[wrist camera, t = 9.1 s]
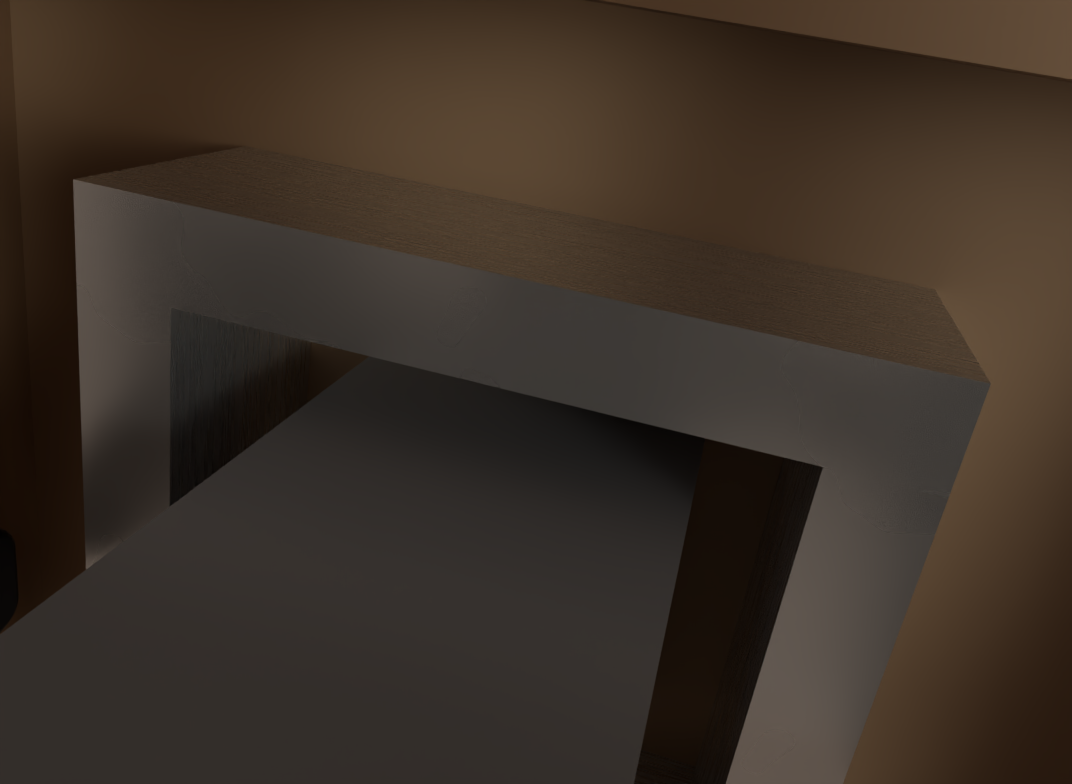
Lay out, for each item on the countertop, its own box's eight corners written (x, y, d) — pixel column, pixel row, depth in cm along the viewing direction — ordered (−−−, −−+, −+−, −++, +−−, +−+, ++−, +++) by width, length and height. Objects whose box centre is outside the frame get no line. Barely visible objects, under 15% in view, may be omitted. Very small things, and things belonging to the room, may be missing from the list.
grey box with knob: (709, 417, 11) (485, 1509, 3) (641, 688, 13) (362, 1907, 4) (390, 340, 12) (-543, 1043, 3) (361, 606, 13) (-331, 1526, 5)
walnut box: (1713, 93, 8) (2412, 130, 5) (1111, 1078, 14) (1227, 1450, 10) (-7, -171, 12) (-373, -268, 8) (44, 720, 17) (-160, 907, 13)
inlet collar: (935, 289, 10) (990, 382, 7) (751, 843, 13) (741, 1057, 10) (246, 146, 11) (72, 179, 9) (226, 678, 14) (94, 828, 12)
